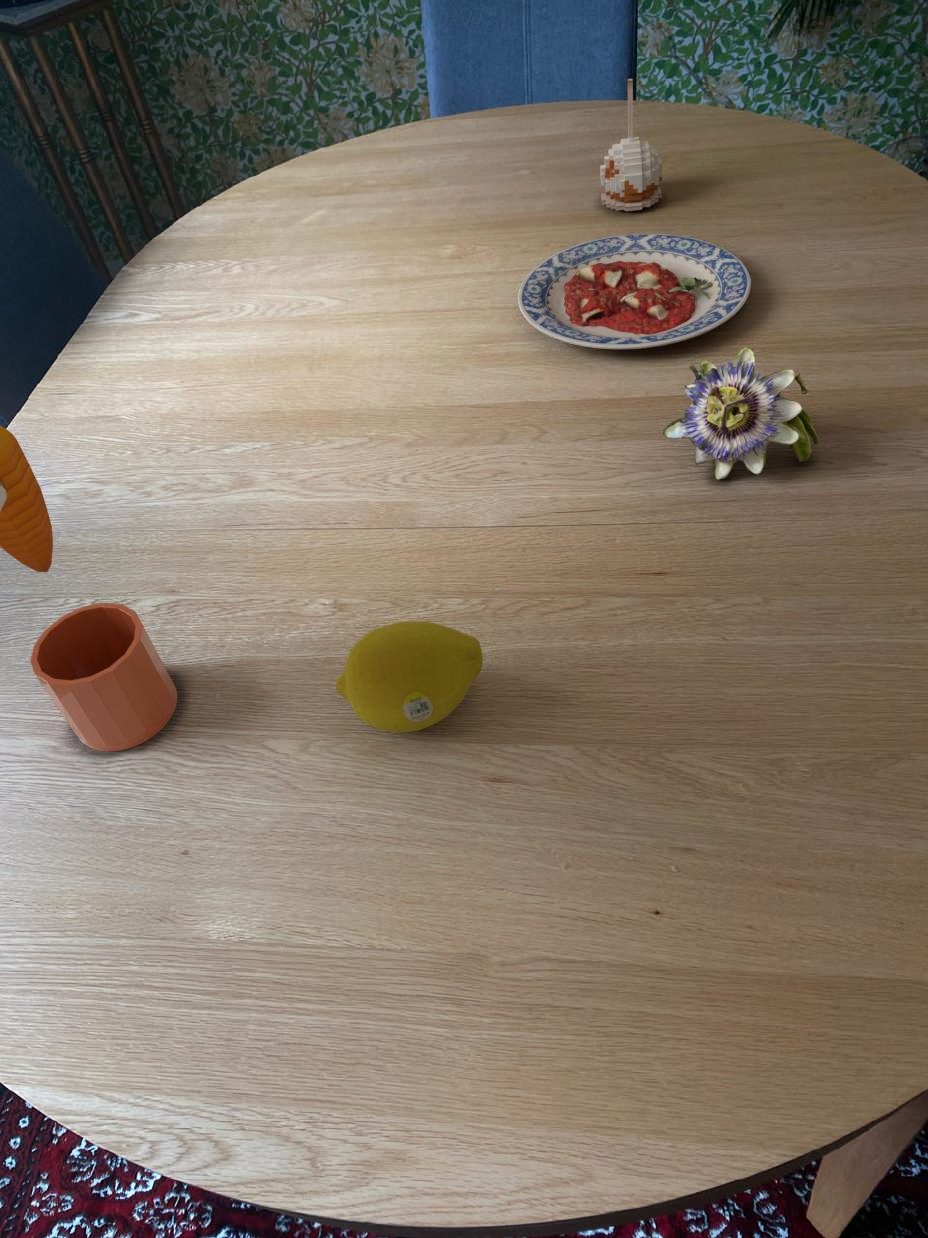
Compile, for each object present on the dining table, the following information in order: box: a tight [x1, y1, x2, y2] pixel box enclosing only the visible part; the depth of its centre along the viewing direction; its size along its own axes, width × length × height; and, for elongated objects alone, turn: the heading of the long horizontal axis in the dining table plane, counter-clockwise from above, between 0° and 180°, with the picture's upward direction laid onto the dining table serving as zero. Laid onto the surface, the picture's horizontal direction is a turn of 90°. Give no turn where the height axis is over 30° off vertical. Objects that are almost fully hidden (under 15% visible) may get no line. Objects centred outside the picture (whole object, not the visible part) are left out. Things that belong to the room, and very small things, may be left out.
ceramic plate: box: [517, 233, 752, 350], centre depth 111 cm, size 26×26×3 cm
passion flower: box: [662, 345, 820, 481], centre depth 88 cm, size 11×11×12 cm
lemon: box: [335, 620, 484, 734], centre depth 71 cm, size 11×8×8 cm
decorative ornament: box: [599, 78, 663, 212], centre depth 125 cm, size 8×8×15 cm
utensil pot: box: [30, 602, 178, 753], centre depth 75 cm, size 8×8×8 cm
